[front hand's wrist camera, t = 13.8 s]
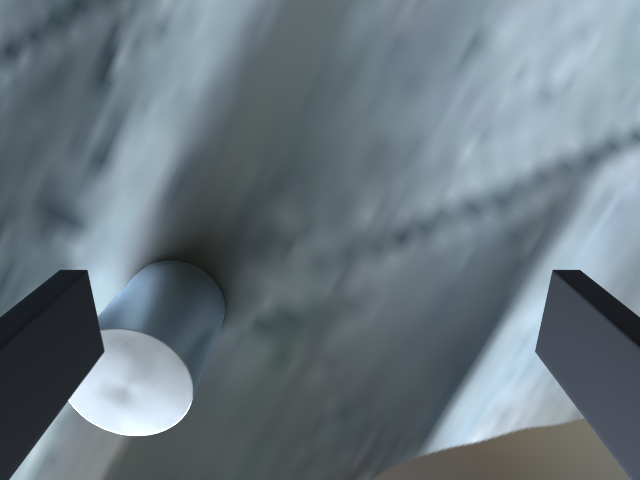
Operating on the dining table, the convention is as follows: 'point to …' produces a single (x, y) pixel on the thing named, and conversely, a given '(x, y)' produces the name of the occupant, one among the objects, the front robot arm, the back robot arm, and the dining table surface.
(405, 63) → the dining table surface
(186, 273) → the can
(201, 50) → the dining table surface
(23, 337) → the front robot arm
